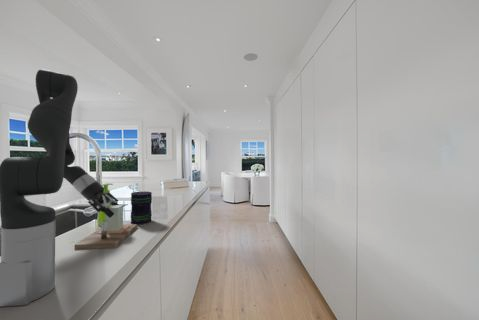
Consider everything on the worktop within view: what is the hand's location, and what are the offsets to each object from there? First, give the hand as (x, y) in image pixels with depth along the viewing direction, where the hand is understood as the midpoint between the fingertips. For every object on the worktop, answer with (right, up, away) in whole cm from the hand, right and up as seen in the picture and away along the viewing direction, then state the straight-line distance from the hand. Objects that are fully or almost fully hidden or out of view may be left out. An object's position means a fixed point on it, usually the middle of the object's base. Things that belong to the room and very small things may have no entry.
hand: (116, 213), depth 90 cm
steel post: (0, -7, -9) cm, 12 cm away
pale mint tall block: (-1, -7, 0) cm, 7 cm away
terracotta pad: (-1, -7, 0) cm, 7 cm away
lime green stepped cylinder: (-13, -9, +13) cm, 20 cm away
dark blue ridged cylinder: (+3, -9, +17) cm, 19 cm away
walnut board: (-1, -9, -4) cm, 10 cm away
